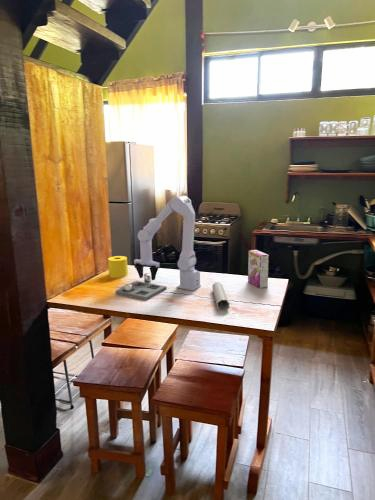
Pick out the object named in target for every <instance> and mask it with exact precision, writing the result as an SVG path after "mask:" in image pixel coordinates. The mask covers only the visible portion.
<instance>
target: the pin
mask: <svg viewBox="0 0 375 500" xmlns="http://www.w3.org/2000/svg"><path fill="white" fill-rule="evenodd" d="M124 286H125V292H129V293H130V292H132V285H131V283H128V284H124Z"/></svg>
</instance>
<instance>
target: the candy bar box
mask: <svg viewBox="0 0 375 500" xmlns="http://www.w3.org/2000/svg"><path fill="white" fill-rule="evenodd" d="M247 254H248V259H247V260H248V262H247V263H248V267H247V268H248V269H247V282H248V283H250V284H252V285H253V286H256V287H257V288H258V289H264V288H268V286H269V285H268V283H269V262H270V261H269V260H270V259H269V258H270V254H267V253H265V252H262V251H260V250H258V249H251V250H250V249H249V250H248V253H247Z"/></svg>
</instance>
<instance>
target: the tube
mask: <svg viewBox="0 0 375 500" xmlns="http://www.w3.org/2000/svg"><path fill="white" fill-rule="evenodd" d="M212 292H213V295H214V298H215V302H216V308H217V309H218V311H219V312H222V311H223V312H226V311H228V310H229V309H230V301H229V300H228V297H227V294H226V292H225V289H224V285H223V284H222V283H221V282H220V281H216V282H214V283H212Z"/></svg>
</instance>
